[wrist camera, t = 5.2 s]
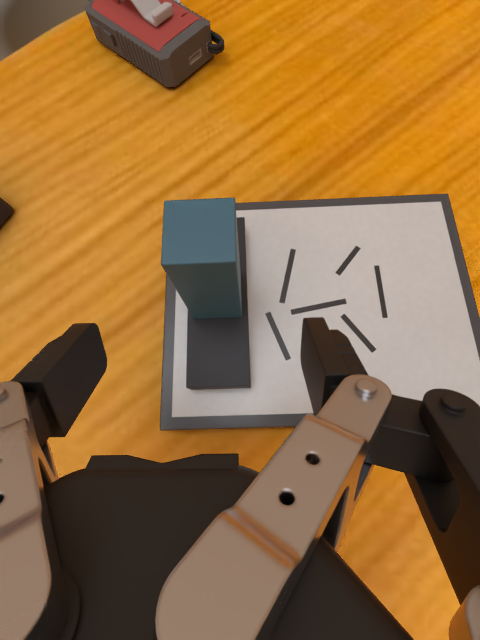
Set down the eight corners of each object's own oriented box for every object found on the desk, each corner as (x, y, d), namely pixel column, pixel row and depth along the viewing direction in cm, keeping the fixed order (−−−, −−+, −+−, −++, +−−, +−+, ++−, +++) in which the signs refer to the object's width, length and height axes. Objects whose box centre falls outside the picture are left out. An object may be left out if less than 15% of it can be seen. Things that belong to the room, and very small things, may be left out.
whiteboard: (493, 420, 21) (507, 420, 20) (163, 429, 22) (158, 430, 21) (440, 202, 26) (449, 192, 25) (172, 214, 27) (168, 204, 25)
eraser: (250, 388, 21) (250, 367, 12) (190, 389, 21) (144, 370, 12) (245, 229, 25) (241, 119, 15) (193, 231, 25) (159, 123, 16)
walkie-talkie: (241, 48, 32) (110, -31, 36) (239, -8, 28) (91, -91, 32) (178, 100, 30) (49, 10, 34) (167, 49, 26) (21, -47, 30)
